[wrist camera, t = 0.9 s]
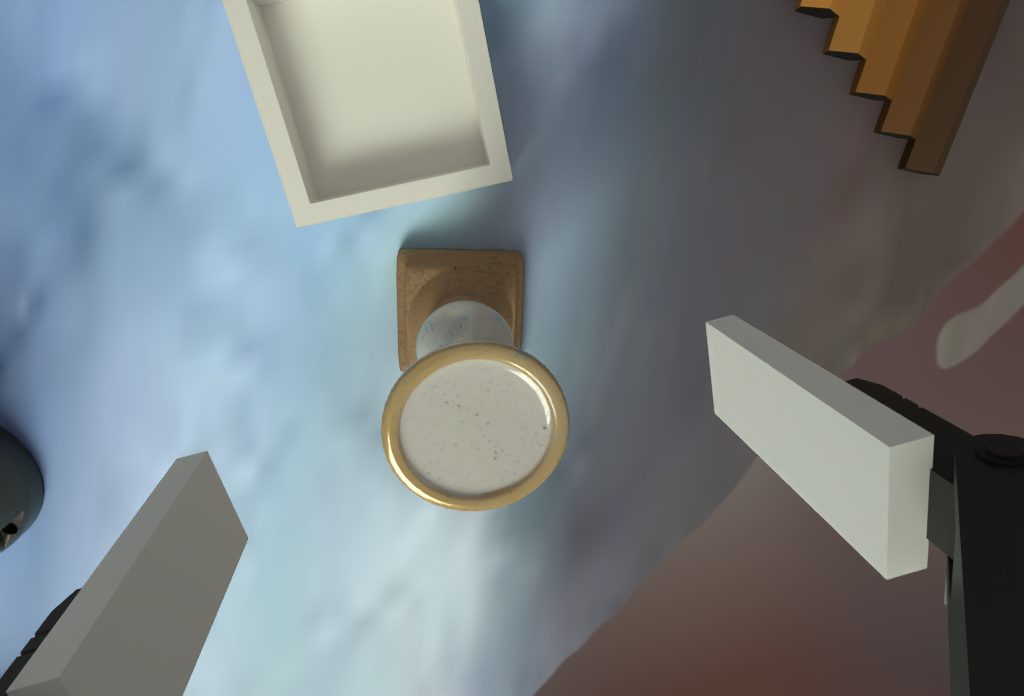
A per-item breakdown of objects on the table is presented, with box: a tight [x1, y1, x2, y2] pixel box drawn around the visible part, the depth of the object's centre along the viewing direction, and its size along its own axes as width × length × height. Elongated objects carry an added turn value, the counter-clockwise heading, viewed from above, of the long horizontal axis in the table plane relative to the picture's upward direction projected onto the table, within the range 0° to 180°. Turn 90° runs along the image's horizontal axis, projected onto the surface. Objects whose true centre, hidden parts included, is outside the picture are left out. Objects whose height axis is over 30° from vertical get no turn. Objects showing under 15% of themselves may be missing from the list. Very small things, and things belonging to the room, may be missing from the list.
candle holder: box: [381, 248, 569, 511], centre depth 43 cm, size 11×11×24 cm
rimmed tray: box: [223, 0, 513, 228], centre depth 45 cm, size 17×17×4 cm
